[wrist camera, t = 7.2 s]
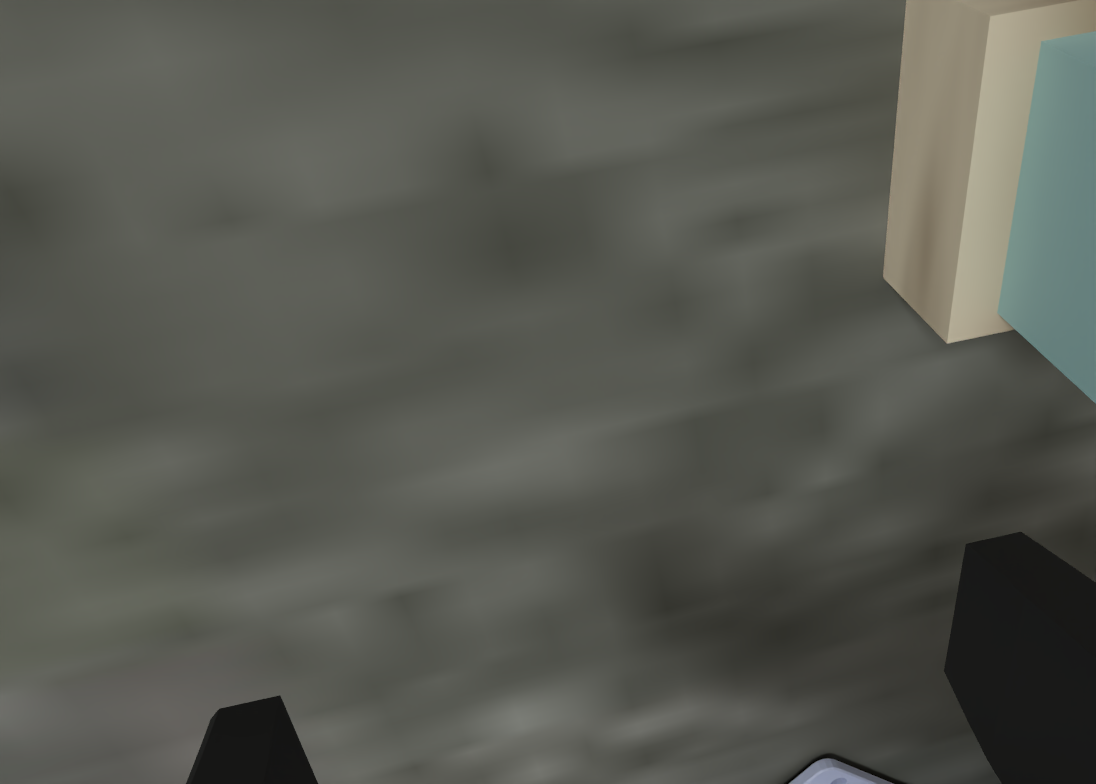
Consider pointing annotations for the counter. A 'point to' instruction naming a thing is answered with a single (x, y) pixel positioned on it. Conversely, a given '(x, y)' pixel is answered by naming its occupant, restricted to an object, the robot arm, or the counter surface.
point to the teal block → (1057, 215)
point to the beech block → (964, 151)
